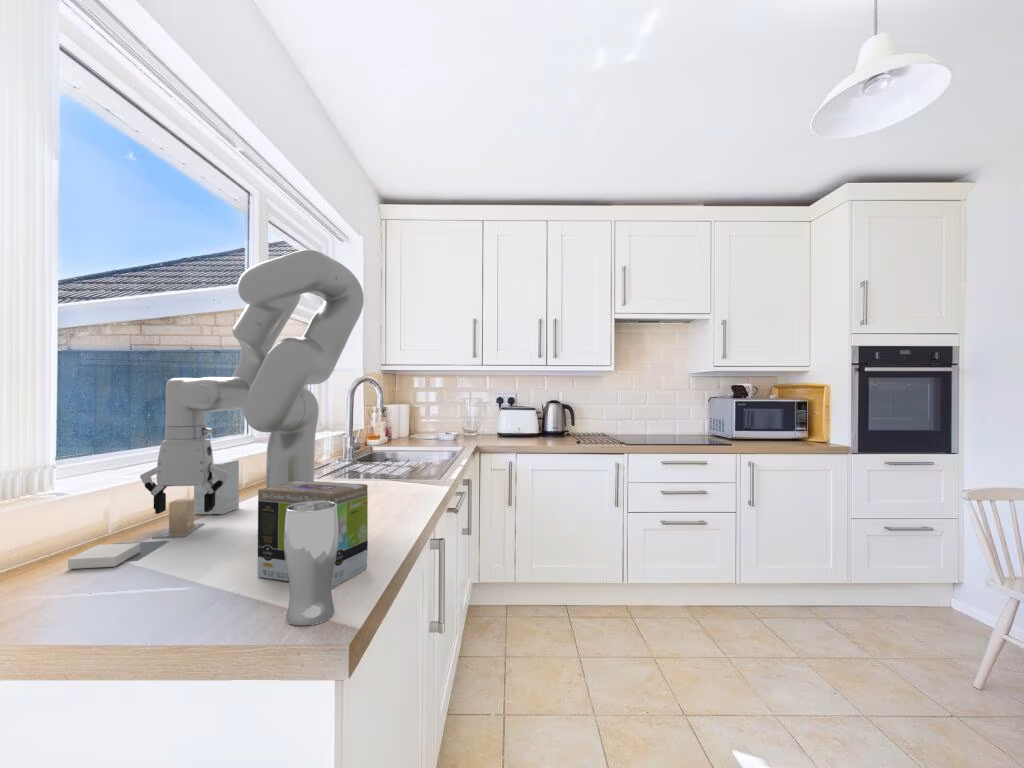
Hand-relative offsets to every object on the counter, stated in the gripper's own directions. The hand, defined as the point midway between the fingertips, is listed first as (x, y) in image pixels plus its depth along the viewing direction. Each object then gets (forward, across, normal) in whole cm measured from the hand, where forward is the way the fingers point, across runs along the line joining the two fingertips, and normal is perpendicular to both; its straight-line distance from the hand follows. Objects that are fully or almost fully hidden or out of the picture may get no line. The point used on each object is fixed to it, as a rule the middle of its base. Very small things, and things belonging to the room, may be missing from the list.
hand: (184, 511), depth 112 cm
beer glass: (+4, -36, +50) cm, 62 cm away
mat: (+4, +4, +16) cm, 17 cm away
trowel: (+4, 0, +2) cm, 5 cm away
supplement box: (+4, -1, -16) cm, 17 cm away
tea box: (+4, -33, +33) cm, 47 cm away
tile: (+2, +4, +18) cm, 18 cm away
